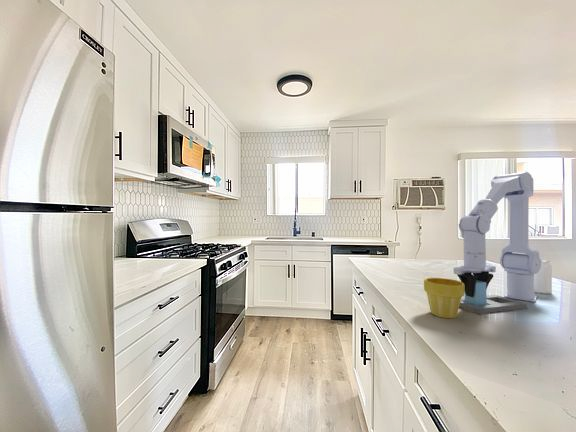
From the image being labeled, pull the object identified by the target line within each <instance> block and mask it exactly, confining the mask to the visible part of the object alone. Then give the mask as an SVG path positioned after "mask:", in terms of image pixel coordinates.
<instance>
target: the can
mask: <svg viewBox="0 0 576 432" xmlns="http://www.w3.org/2000/svg"><path fill="white" fill-rule="evenodd" d="M540 260H541V268H540V270H539V271H538V272H537V273H536V274H534V294H535V293H536V294H543V295H550V294H552V292H553V277H552V276H553V275H552V274H553V273H552V272H553V270H552V269H553V268H552V264H551V261H550V260H549V259H548V260H547V259H540Z"/></svg>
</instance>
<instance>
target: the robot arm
mask: <svg viewBox="0 0 576 432" xmlns="http://www.w3.org/2000/svg"><path fill="white" fill-rule="evenodd" d="M490 184H491V189H490V190H489V191H488V194H486V196H485V198H484V199H480V200H478V201H477V203H476V204H475V206H474V207H473V209H472V210H471V211H470V212H469V214H468V215H464V216H463V217H461V218H460V220H459V223H458V228H459V231H460V233H461V237H462V239H463V265H461V266H457V267H453V274H455V275H457V277H458V278H459V281H460V282H463V283H464V284H465V292H464V294H465V293H466V296H469V297H473V296H474V290H475V283H476V280H478V281H482V282H486V291H487V289H488V286H489V284H490V283H491V281H492V279H493V278H494V274H493V273H496V272H497V271H496V265H490V264H489V265H488V264H487V253H486V252H487V251H486V249H487V248H486V246H487V245H486V234H487V233H488V232H490V228H491V223H492V219H493V217H494V216H495V215H496V213H497V212H498V210H499V207H498V204H499V202H500V201H501V200H503V199H506V200H508V201H509V244H508V245H507V246H505V247H503V248H502V250H501V254H500V257H499V263H500V266H501V268H502V269H504V272H506V289H507V291H506V293H505V295H504V296H503V297H505V298H508V299H512V300H520V301H525V302H526V301H527V302H530V303H531V302H532V303H533V302H534V303H536V300H537V296H538V295H537V294H535V292H534V274H536V273H537V272H538V271H539V270H540V268H541V260H542V259H540V258H541V257H540V253H539V250H537V249H536V248H534V247H532V246H531V245H530V244H529V215H530V214H529V208H530V207H529V206H530V205H529V204H530V203H529V202H530V201H529V200H530V199H529V198H531V197H533V196H534V178H533V177H532V174H530V173H529V172H528V171H522V172H516V173H510V174H509V173H508V174H502V175H498V174H497V175H495V176H494V177H493V178H492V180H490Z"/></svg>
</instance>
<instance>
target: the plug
mask: <svg viewBox="0 0 576 432" xmlns="http://www.w3.org/2000/svg"><path fill="white" fill-rule="evenodd" d="M486 296H487V290H486V282H482V281H478V280H476V283H475V290H474V296H473V297H469V296H466V293H465V292H464V298H465V302H466V303H469V304H472V305H475V306H481V305H487V297H486Z"/></svg>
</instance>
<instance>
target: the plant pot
mask: <svg viewBox="0 0 576 432" xmlns="http://www.w3.org/2000/svg"><path fill="white" fill-rule="evenodd" d="M423 289H424V291H425V292H426V297H427V301H428V305H429V309H430V310H429V311H430V313H431V314H432V315H434V316H435V317H439V318H445V319H455V318H457V317H458V313H459V309H460V307H459V305H460V301H461V298H464V297H465V284H464V283H463V282H461V280H457V279H451V278H445V277H426V278H424V279H423Z"/></svg>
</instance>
